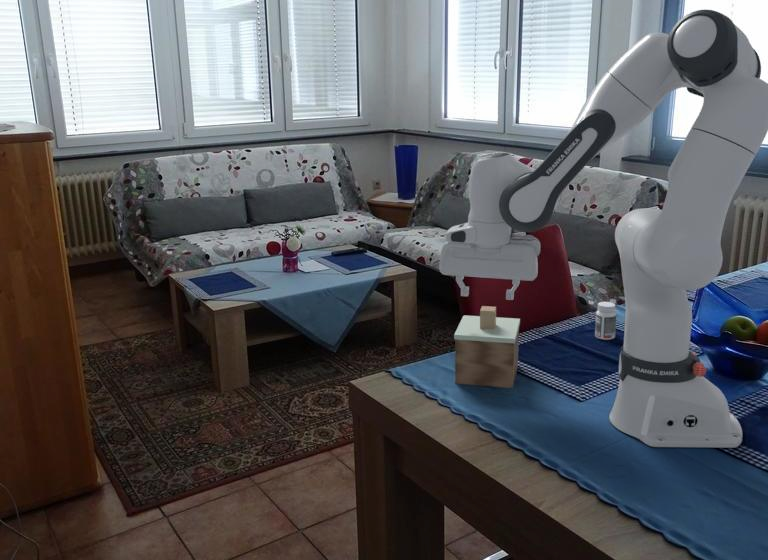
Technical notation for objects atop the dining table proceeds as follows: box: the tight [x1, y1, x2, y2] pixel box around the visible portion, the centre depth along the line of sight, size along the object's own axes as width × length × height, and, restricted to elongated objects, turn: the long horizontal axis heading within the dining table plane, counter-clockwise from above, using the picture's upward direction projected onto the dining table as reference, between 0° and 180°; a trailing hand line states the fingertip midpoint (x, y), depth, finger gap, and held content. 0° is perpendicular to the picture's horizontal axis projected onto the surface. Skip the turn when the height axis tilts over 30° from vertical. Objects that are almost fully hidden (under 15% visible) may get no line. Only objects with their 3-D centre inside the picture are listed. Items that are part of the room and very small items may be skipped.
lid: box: [453, 305, 521, 343], centre depth 154 cm, size 12×12×5 cm
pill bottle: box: [594, 301, 617, 341], centre depth 176 cm, size 5×5×8 cm
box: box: [454, 328, 520, 389], centre depth 156 cm, size 12×12×10 cm
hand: (487, 297), depth 153 cm, fingers open, 8 cm apart
